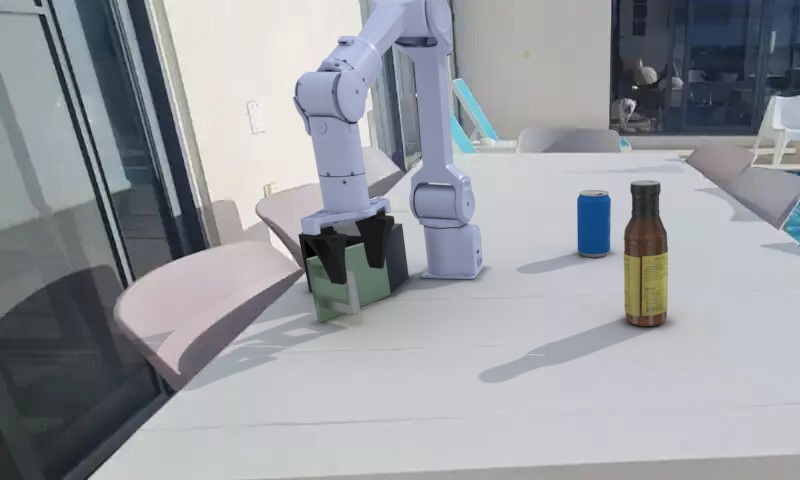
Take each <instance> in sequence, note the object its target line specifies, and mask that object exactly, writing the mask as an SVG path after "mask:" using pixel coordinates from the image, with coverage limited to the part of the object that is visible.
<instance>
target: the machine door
mask: <svg viewBox="0 0 800 480" xmlns="http://www.w3.org/2000/svg"><path fill="white" fill-rule="evenodd" d="M306 261H307V266H308V272H309V277H310V282H311V287H312V292H311V293H312V297H313V302H314V308H315V312H316V318H317V321H318V322H319V323H323V322H326V321H328V320H331V319H334V318H336V317H339V316H341V315H343V314H347V315H352V316H356V315H360V314H361V312H362V311H361V308H363V307H364V306H367V305H370V304H372V303H374V302H377V301H380V300H382V299H385V298H387V297H390V296H391V295H392V293H391V294H390V287H389V280H388V272H387V265H386V258H385V263H384V268H382V269H377V268H370V267H369V265H368V262H367V258H366V253H365V248H364V244H363V243H360V244H357V245H353V246H350V247H346V248H345V265H346V273H347V282H346V284H343V285H341V284H334V283H331V281H330V279H329V277H328V275H327V273H326V271H325V269H324V266H323V265H322V263H321V261H320V259H319V258H318V256H315V257H311V258H308V259H306Z"/></svg>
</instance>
